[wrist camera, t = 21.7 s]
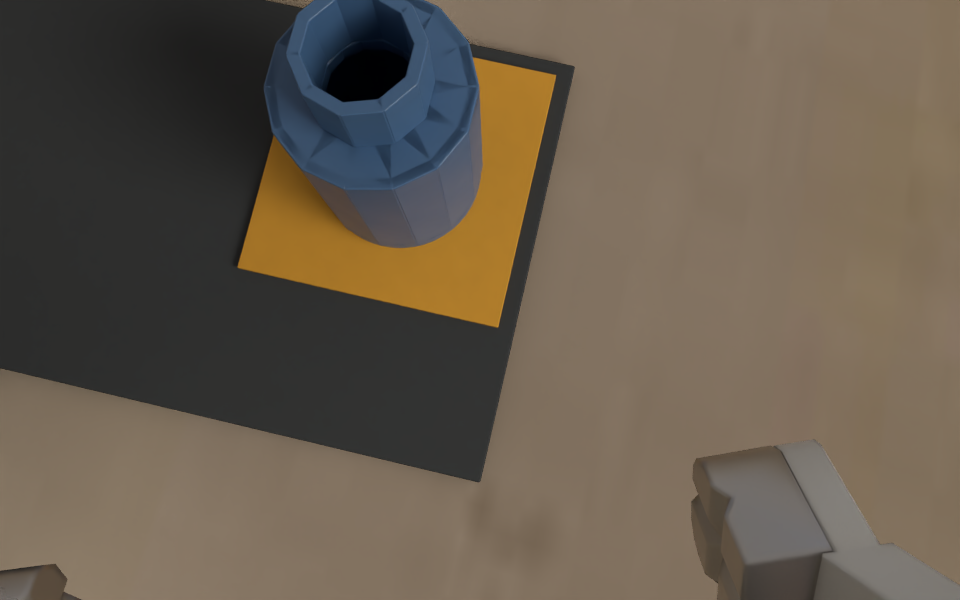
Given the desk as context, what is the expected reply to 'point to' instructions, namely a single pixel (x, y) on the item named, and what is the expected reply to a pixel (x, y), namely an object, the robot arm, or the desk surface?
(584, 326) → the desk surface
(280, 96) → the vase
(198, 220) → the desk mat
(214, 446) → the desk surface
